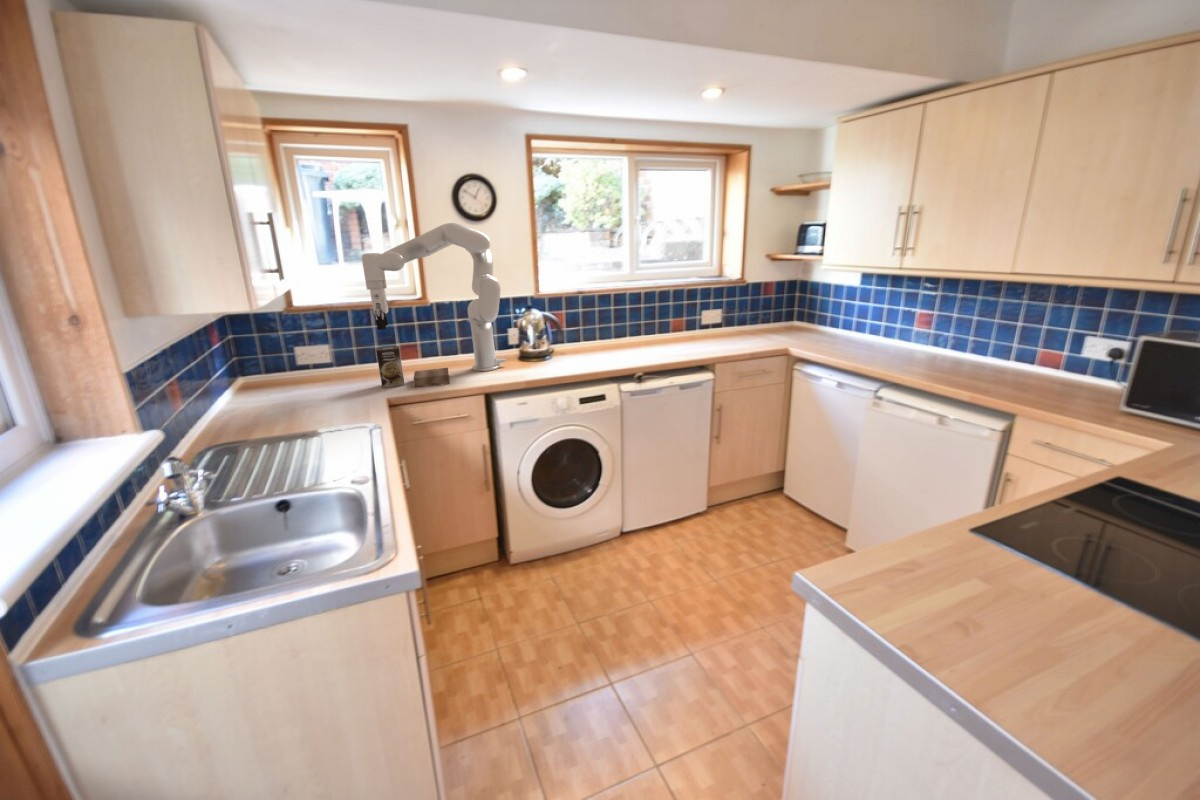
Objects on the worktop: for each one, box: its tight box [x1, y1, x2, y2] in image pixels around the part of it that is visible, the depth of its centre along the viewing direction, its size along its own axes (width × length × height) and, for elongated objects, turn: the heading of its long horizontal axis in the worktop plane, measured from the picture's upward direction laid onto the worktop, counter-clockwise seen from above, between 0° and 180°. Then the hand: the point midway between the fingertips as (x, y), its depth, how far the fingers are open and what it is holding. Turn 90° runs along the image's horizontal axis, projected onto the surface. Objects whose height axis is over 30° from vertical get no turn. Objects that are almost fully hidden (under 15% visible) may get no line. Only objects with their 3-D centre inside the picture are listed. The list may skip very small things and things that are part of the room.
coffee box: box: [375, 345, 405, 389], centre depth 222 cm, size 9×6×16 cm
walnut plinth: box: [413, 367, 451, 389], centre depth 226 cm, size 14×13×4 cm
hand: (382, 327), depth 217 cm, fingers open, 9 cm apart
